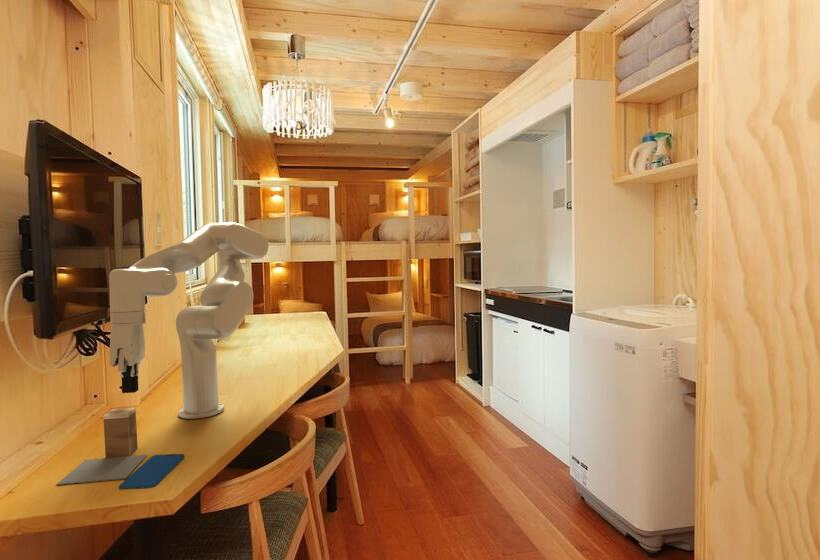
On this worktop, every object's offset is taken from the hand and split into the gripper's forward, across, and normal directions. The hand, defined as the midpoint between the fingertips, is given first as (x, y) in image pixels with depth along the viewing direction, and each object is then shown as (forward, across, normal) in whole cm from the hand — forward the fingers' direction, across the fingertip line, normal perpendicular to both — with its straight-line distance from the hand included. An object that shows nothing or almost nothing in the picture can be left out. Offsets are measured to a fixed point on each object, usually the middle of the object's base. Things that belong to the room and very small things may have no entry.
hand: (130, 391), depth 121 cm
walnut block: (+13, +7, 0) cm, 15 cm away
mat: (+13, +16, 0) cm, 21 cm away
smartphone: (+13, +20, +12) cm, 26 cm away
